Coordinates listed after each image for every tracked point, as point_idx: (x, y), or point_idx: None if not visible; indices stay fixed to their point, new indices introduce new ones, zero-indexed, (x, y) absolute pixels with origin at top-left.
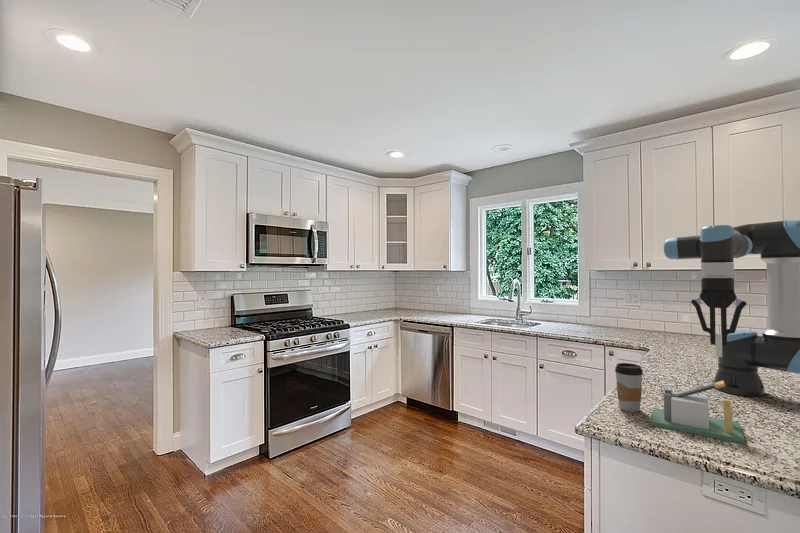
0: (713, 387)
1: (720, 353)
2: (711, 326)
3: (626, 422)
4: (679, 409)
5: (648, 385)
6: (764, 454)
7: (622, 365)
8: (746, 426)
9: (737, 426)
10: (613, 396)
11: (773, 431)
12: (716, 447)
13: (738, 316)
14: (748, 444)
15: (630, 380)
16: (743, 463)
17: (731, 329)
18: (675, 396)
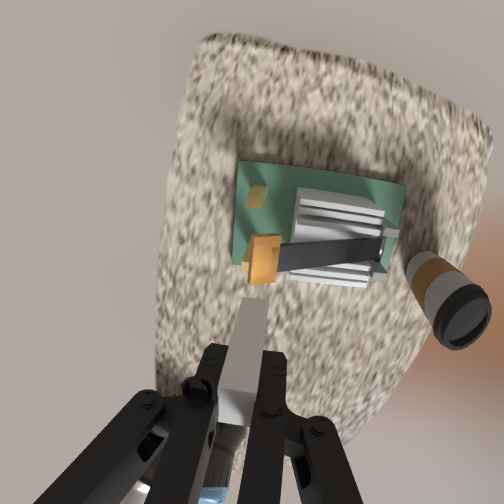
0: (283, 244)
1: (247, 307)
2: (275, 450)
3: (439, 180)
4: (359, 202)
5: (347, 406)
6: (215, 122)
7: (470, 336)
8: (221, 267)
9: (239, 237)
10: (429, 327)
11: (183, 260)
12: (293, 111)
13: (65, 478)
14: (233, 161)
15: (460, 279)
16: (258, 59)
17: (147, 413)
18: (369, 240)
